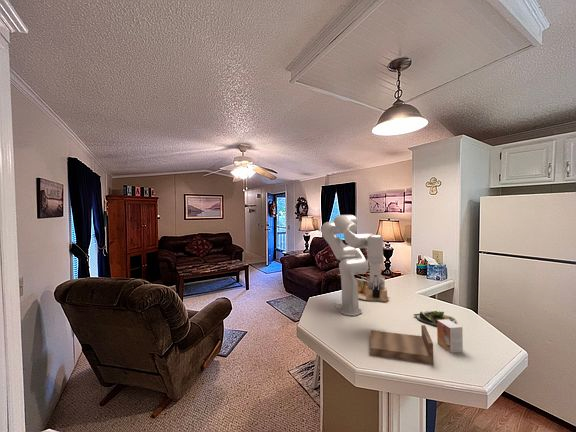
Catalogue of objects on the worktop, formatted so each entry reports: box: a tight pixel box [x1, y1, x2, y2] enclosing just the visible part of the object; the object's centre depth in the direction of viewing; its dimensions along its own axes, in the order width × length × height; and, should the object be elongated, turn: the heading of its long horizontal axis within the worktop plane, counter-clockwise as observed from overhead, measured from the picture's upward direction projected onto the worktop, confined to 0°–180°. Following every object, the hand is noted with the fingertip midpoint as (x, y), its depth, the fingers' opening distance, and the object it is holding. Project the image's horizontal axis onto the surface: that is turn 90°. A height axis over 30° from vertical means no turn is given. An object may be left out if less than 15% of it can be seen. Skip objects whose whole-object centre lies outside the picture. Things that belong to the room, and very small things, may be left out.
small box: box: [436, 319, 464, 354], centre depth 105 cm, size 8×6×10 cm
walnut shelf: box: [369, 324, 435, 365], centre depth 105 cm, size 23×16×8 cm
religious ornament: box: [355, 277, 391, 302], centre depth 169 cm, size 25×20×12 cm
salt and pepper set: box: [365, 276, 388, 302], centre depth 123 cm, size 10×5×10 cm, turn 70°
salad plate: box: [413, 310, 457, 328], centre depth 133 cm, size 19×18×5 cm
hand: (376, 295), depth 123 cm, fingers closed on salt and pepper set, 5 cm apart
